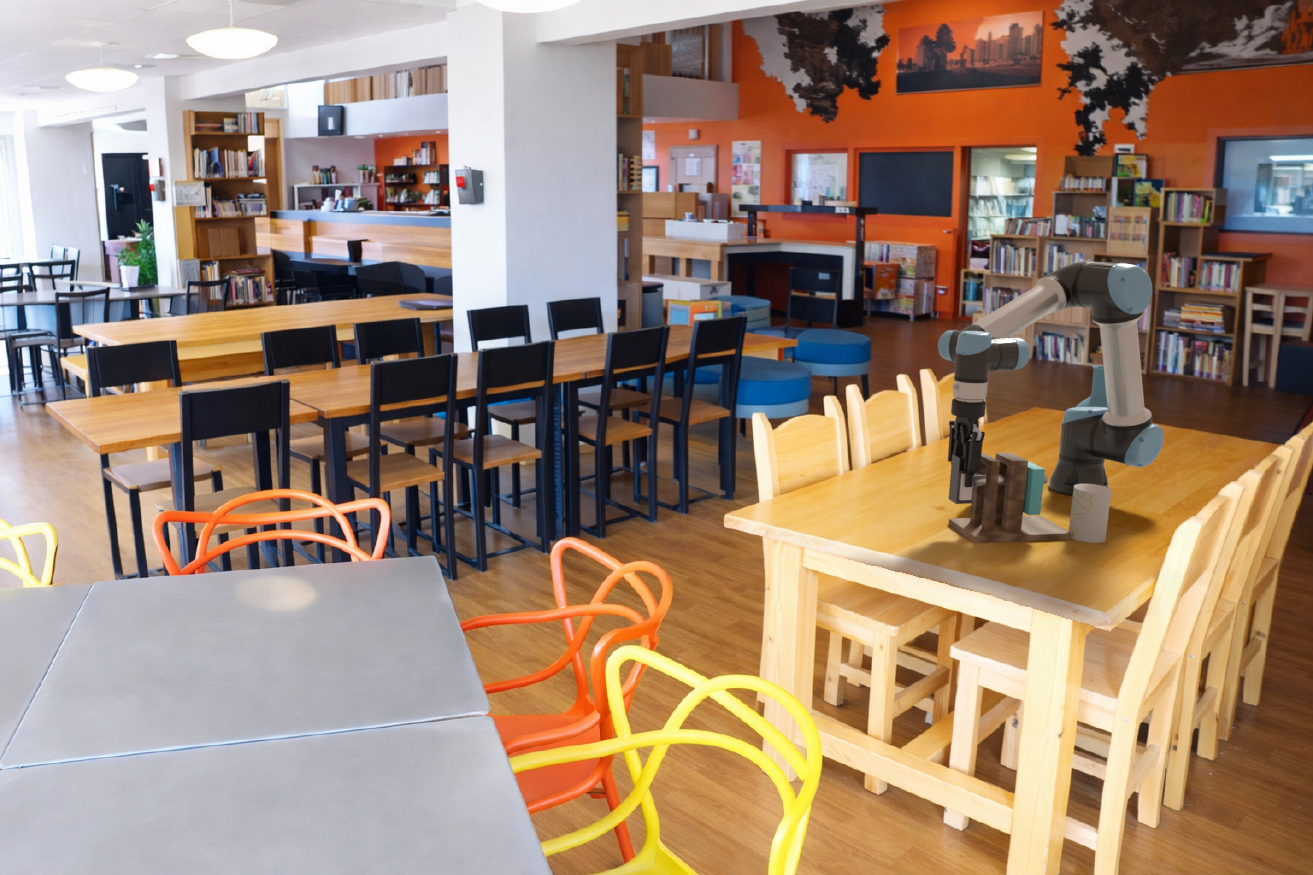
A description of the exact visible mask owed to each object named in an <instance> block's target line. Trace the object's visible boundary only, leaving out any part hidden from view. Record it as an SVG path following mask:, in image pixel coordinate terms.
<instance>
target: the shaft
mask: <svg viewBox="0 0 1313 875" xmlns="http://www.w3.org/2000/svg"><path fill="white" fill-rule="evenodd" d="M950 466H951V467H950V479H949V488H948V500H949V501H950V502H953V504H956V505H964V504H965V505H966V504H971V503H972V499H973V487H974V486H985V485H986V475H975V473H974V475H973V486H972V498H971V500H959V493H960V482H961V471H964V467H963V454H952V464H951V463H950ZM1048 479H1049V476H1048V474H1047V473H1046V472H1045V475H1044V484H1043V485H1046V484H1047V483H1048V482H1049V480H1048ZM1005 484H1006V474H999V478H998V485H1005Z"/></svg>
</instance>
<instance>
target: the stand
mask: <svg viewBox="0 0 1313 875" xmlns="http://www.w3.org/2000/svg"><path fill="white" fill-rule="evenodd" d="M1028 461H1029V460H1028V459H1025V458H1024V457H1021V456H1020V455H1017V454H1015V453H1013V452H996V453H995V458H994V457H992V456H990V455H989V454H986V453H984V452H983V453H981V462H980V471H979V473H975V475H986V485H985V486H974V487H973V499H972V504H971V510H970V517H959V518H958V517H956V518H948V525H949V526H950V527H952V528H953V529H954V530H956V531H957V532H958V531H959V532H958V533H960V534H961V535H962V536H964V537H965V538H967V539H969V540H970V541H971V542H973V543H974V544H986V543H987V544H988V543H1007V542H1008V543H1010V542H1011V543H1012V542H1013V543H1014V542H1036V541H1040V542H1041V541H1060V540H1061V541H1063V540H1072V538H1071V533H1070V532H1069V530H1066V529H1065V528H1063V527H1061V526H1059V525H1058V524H1056V523H1054V522H1053V521H1051V520H1049V519H1047V518H1046V517H1044V516H1042V515H1024V514H1023V513H1024V512H1023V507H1024V497H1025V488H1026V478H1027V468H1028ZM999 474H1006V484H1005V485H998V478H999ZM984 495H985V496H984ZM983 506H984V507H983Z"/></svg>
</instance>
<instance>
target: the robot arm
mask: <svg viewBox="0 0 1313 875" xmlns="http://www.w3.org/2000/svg"><path fill="white" fill-rule="evenodd" d="M1152 297H1153V283H1152V279H1151V278H1150V275H1149V273H1148V272H1147V271H1146V270H1145V269H1144V268H1143V267H1141V266H1139V265H1135V264H1130V263H1126V262H1120V263H1119V262H1103V261H1092V260H1083V261H1078V262H1073V263H1071V264H1068V265H1065V266H1063V267H1060V268H1058V269H1056V270H1054V271H1052V272H1050V273H1048V274H1047V275H1044V276H1043V277H1041V278H1040V279H1038V280H1037V281H1036V283H1035V285H1034V286H1033V287H1032V288H1030V289H1029V290H1027V291H1026V292H1024V293H1022V294H1021V295H1019V296H1017V297H1015V298H1014V299H1012V300H1011V301H1009V302H1007V303H1006V304H1004V305H1002V306H1001V307H999V308H997V309H995V310H994V311H992V312H991V313H989V314H988V315H986V316H984V317H982V318H981V319H979V320H976V321H975V322H974V323H972V324H970V325H969V326H967V327H965V328H963V329H962V330H959V329H953V330H951V329H949V330H946V331H945V332H944V331H943V333H942V334H941V335H940V338H939V340H938V343H937V349H938V351H937V352H938V354H939V355H940V357H941V358H942V359H944V360H947V361H950V362H953V363H954V376H953V384H952V385H951V388H952V397H954V398H953V399H951V408H950V409H951V410H950V412H951V415H952V416H954V417H955V420H949V422H948V426H949V440H948V455H947V461H948V462H949V463H950V465H951V464H952V454H963V467H964V471H961V482H960V493H959V500H971V498H972V486H973V475H974V473H979V471H980V462H981V453H982V451H983V445H984V439H985V436H986V432H985V431H981V430H980V425H979V422H980V421H979V420H980V419H981V418H983V417H985V415H986V407H987V406H986V405H987V402H986V401H985V400H986V399H987V395H988V385H989V373H993V372H995V373H996V372H1008V371H1009V372H1012V371H1015V370H1021V369H1022V368H1024V367H1025V366H1026V365H1027V364H1028V363H1029V361H1030V357H1031V350H1030V346H1029V344H1028V343H1027V342H1026V341H1025V340H1024V339H1022V338H1020V337H1013V336H1014V335H1016V334H1017V333H1019V332H1021V331H1022V330H1025V329H1026V328H1028V327H1029V326H1030V325H1032V324H1033V323H1036V322H1037V321H1038V320H1040V319H1042V318H1044V317H1046V316H1048V315H1049V314H1051V313H1055V314H1056V313H1059V312H1061V311H1063V310H1065V309H1069V308H1084V309H1090V310H1091V319H1092V321H1093V323H1094V324H1096V325H1097V326H1099V332H1100V341H1101V351H1102V352H1101V353H1102V361H1103V362H1102V363H1103V366H1104V374H1105V385H1106V395H1107V405H1108V408H1106V407H1076V406H1075V407H1070V408H1067V409H1066V410H1065V411H1064V413H1063V418H1062V422H1061V430H1060V431H1061V433H1060V440H1059V441H1060V442H1059V451H1058V452H1059V454H1058V460H1057V463H1056V465H1055V467H1054V469H1053V471H1052V472H1051V476H1050V477H1049V480H1048V482H1049V483H1048V487H1049V489H1050V490H1052V491H1054V492H1057V493H1061V494H1064V495H1068V496H1073V489H1074V485H1076V484H1095V485H1101V486H1105V487H1108V488H1109V482H1108V477H1107V474H1106V473H1107V472H1106V468H1105V460H1107V461H1111V462H1116V463H1119V464H1122V465H1126V466H1128V467H1136V468H1144V467H1147V466H1149V465H1151V464H1152V463H1153V462H1154V461H1155V460H1156V459H1157V458H1158V456H1159V454H1160V453H1161V450H1162V448H1163V445H1164V439H1165V435H1164V434H1165V432H1164V430H1163V428H1162V427H1160V426H1159V425H1158V424H1156V423H1153V417H1152V416H1153V415H1152V411H1150V410H1149V409H1148V408H1146V407H1145V400H1144V387H1143V376H1142V375H1143V374H1142V364H1141V363H1142V362H1141V354H1140V341H1139V340H1140V339H1139V330H1138V321H1139V320H1140V319H1141V318H1142V317H1143V315H1144V311H1145V310H1146V309H1147V308H1148V307H1149V305H1150V303H1151V300H1150V299H1151V298H1152Z"/></svg>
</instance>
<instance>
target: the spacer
mask: <svg viewBox="0 0 1313 875" xmlns="http://www.w3.org/2000/svg"><path fill="white" fill-rule="evenodd" d="M1045 473H1046V469H1045V468H1044V467H1043V466H1042V467H1041V466H1040V465H1038V464H1035V463H1034V462H1032V461H1030V460H1028V468H1027V478H1026V488H1025V497H1024V507H1023V513H1024V514H1026V516H1041V512H1042V511H1041V510H1042V502H1043V491H1044V485H1045V484H1044V475H1045Z"/></svg>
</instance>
